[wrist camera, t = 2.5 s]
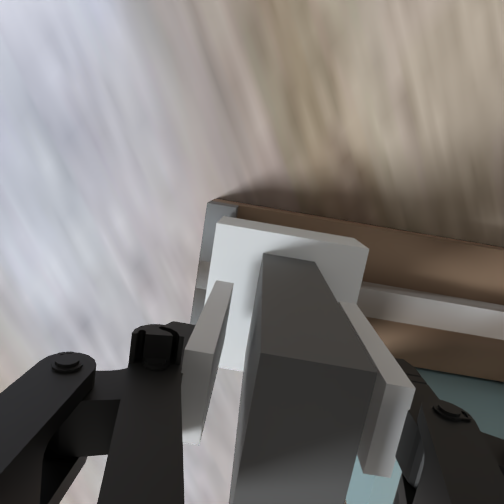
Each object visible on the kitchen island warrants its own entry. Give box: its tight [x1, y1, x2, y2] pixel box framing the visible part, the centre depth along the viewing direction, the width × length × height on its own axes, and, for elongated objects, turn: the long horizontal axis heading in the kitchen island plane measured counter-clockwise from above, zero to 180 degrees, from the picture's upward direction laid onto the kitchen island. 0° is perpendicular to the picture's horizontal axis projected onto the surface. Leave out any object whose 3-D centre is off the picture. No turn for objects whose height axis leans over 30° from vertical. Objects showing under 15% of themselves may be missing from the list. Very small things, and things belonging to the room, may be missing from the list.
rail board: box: [190, 199, 504, 382], centre depth 23 cm, size 8×22×4 cm, turn 81°
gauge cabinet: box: [346, 367, 504, 504], centre depth 22 cm, size 6×11×9 cm, turn 81°
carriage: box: [204, 216, 378, 504], centre depth 15 cm, size 7×7×13 cm
